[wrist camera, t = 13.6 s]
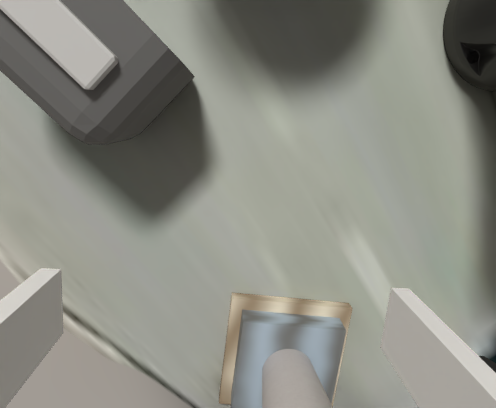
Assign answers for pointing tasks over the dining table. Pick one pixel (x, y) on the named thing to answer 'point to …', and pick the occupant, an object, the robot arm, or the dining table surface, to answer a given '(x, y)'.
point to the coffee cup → (291, 382)
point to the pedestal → (280, 342)
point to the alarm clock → (89, 65)
